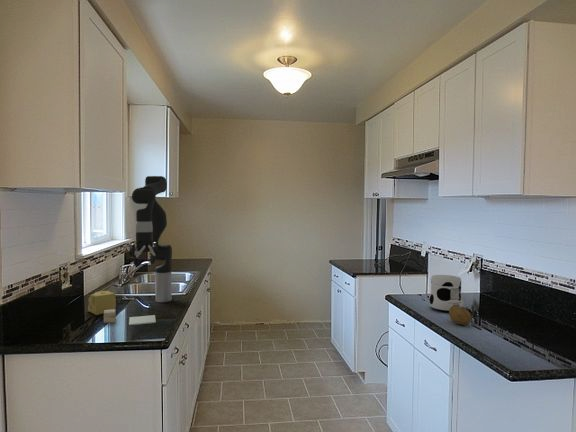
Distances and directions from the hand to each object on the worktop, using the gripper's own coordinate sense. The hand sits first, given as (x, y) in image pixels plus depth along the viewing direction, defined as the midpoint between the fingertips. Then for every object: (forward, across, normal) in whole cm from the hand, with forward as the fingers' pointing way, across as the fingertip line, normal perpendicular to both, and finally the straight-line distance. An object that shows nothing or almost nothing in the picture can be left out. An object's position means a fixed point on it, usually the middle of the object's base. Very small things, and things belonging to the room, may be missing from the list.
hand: (144, 264), depth 188 cm
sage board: (+28, -2, -6) cm, 29 cm away
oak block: (+28, +8, -18) cm, 34 cm away
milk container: (+29, -114, +109) cm, 160 cm away
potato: (+29, -92, +121) cm, 155 cm away
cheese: (+29, +1, -37) cm, 47 cm away
